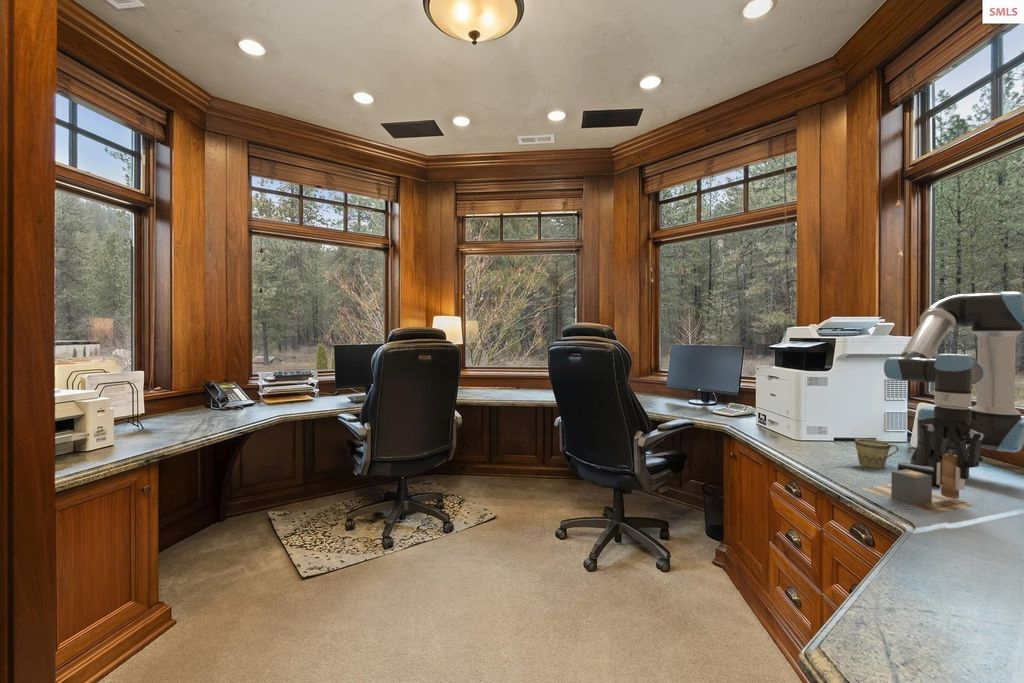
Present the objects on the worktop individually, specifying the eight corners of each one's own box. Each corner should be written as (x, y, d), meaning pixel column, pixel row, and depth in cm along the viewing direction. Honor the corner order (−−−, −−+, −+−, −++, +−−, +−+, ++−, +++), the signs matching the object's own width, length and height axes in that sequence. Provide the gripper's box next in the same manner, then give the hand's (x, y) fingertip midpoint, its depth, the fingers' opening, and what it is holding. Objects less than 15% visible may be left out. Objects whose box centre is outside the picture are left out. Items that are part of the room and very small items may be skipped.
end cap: (897, 484, 141) (898, 464, 141) (898, 479, 146) (898, 459, 146) (940, 492, 134) (940, 471, 134) (939, 486, 139) (939, 466, 139)
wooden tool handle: (945, 493, 125) (947, 447, 125) (961, 497, 122) (963, 451, 122) (938, 494, 124) (939, 448, 124) (954, 499, 121) (955, 452, 121)
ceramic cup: (862, 471, 155) (863, 444, 154) (849, 463, 164) (850, 437, 164) (905, 474, 151) (906, 446, 151) (890, 466, 160) (890, 440, 160)
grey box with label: (906, 495, 128) (907, 468, 128) (931, 502, 122) (932, 474, 122) (891, 497, 126) (891, 470, 126) (915, 505, 120) (916, 477, 120)
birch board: (898, 486, 139) (898, 482, 139) (976, 509, 121) (976, 504, 121) (860, 492, 133) (860, 488, 133) (936, 517, 115) (936, 512, 115)
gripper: (909, 402, 130) (907, 478, 130) (983, 412, 114) (981, 498, 114) (925, 401, 132) (923, 476, 132) (1000, 411, 116) (997, 495, 116)
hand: (950, 486), depth 123 cm, fingers closed on wooden tool handle, 3 cm apart
